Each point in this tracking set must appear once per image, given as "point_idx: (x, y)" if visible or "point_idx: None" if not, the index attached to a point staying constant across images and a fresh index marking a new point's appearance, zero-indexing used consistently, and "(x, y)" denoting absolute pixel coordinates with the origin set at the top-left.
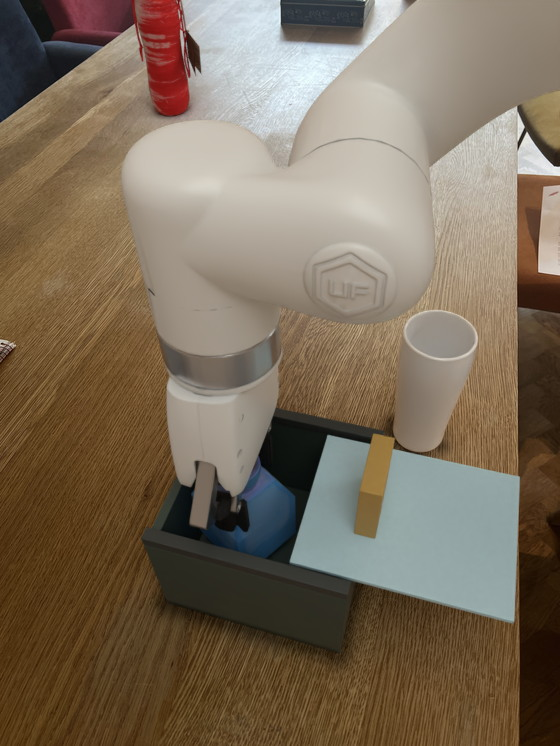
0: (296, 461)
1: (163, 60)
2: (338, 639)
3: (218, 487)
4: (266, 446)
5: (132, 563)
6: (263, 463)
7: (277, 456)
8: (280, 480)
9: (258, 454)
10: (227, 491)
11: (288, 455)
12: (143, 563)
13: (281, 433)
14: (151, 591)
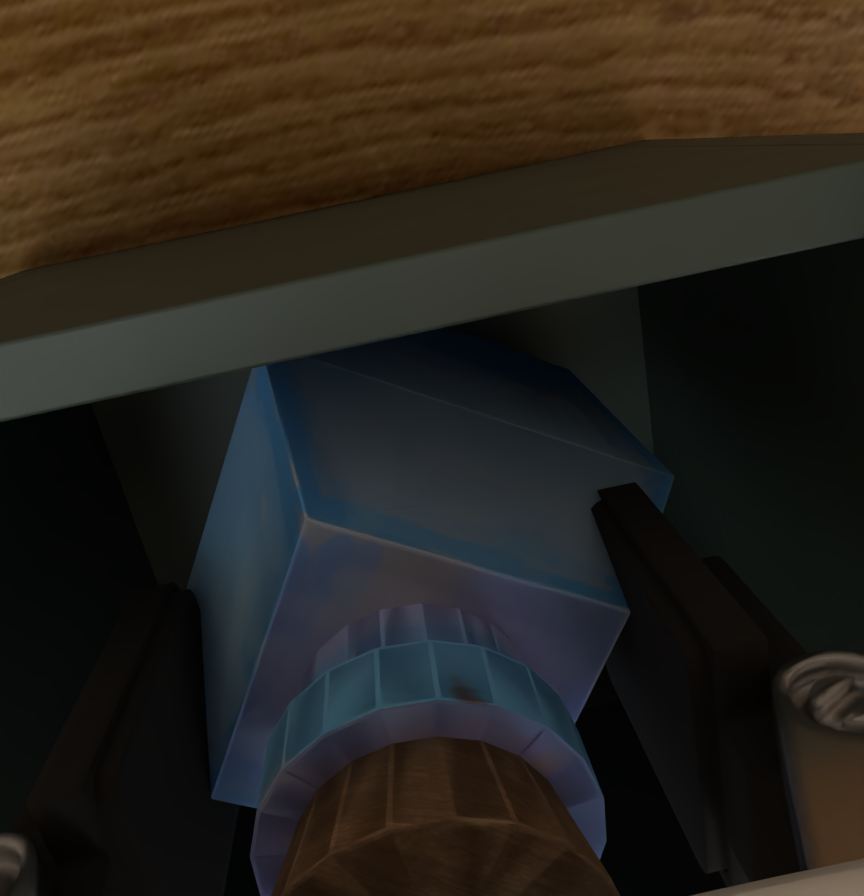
0: (741, 568)
1: None
2: None
3: (285, 631)
4: (687, 830)
5: (57, 24)
6: (613, 663)
7: (738, 488)
8: (662, 429)
9: (638, 695)
10: (289, 694)
11: (754, 553)
12: (87, 72)
13: (852, 619)
14: (16, 184)
